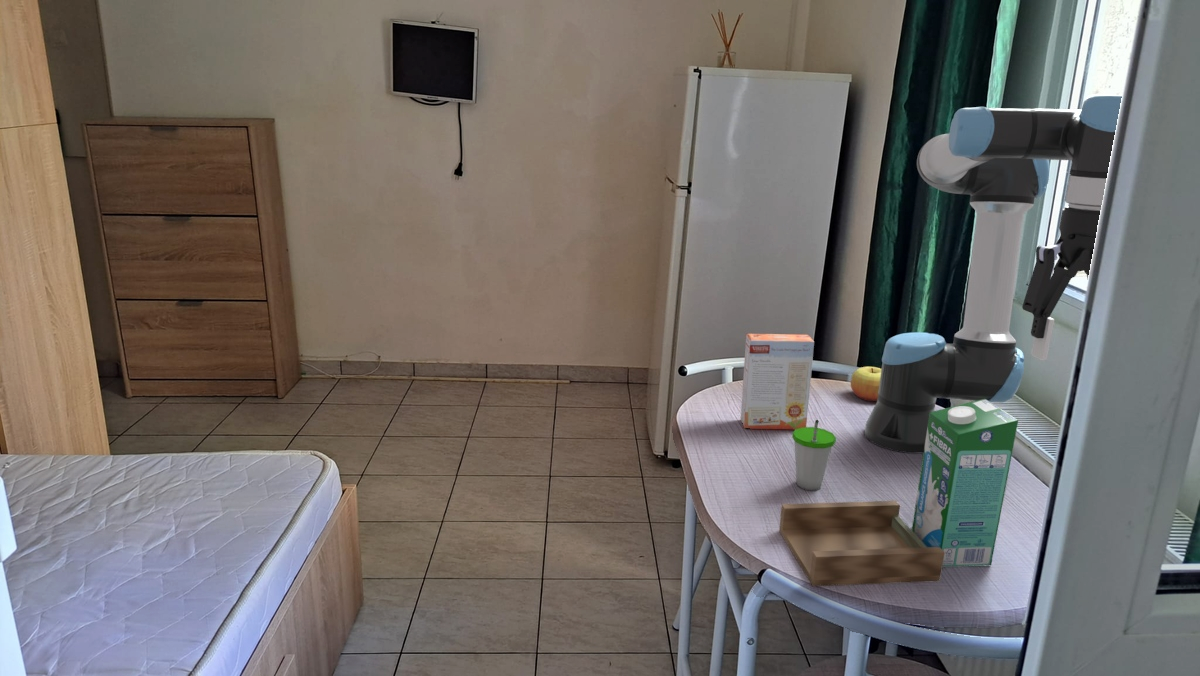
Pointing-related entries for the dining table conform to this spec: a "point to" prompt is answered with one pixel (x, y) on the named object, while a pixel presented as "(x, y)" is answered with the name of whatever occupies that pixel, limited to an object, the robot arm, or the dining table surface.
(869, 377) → the apple
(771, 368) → the cracker box
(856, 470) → the dining table surface
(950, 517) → the milk carton
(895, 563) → the tray
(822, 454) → the cup
